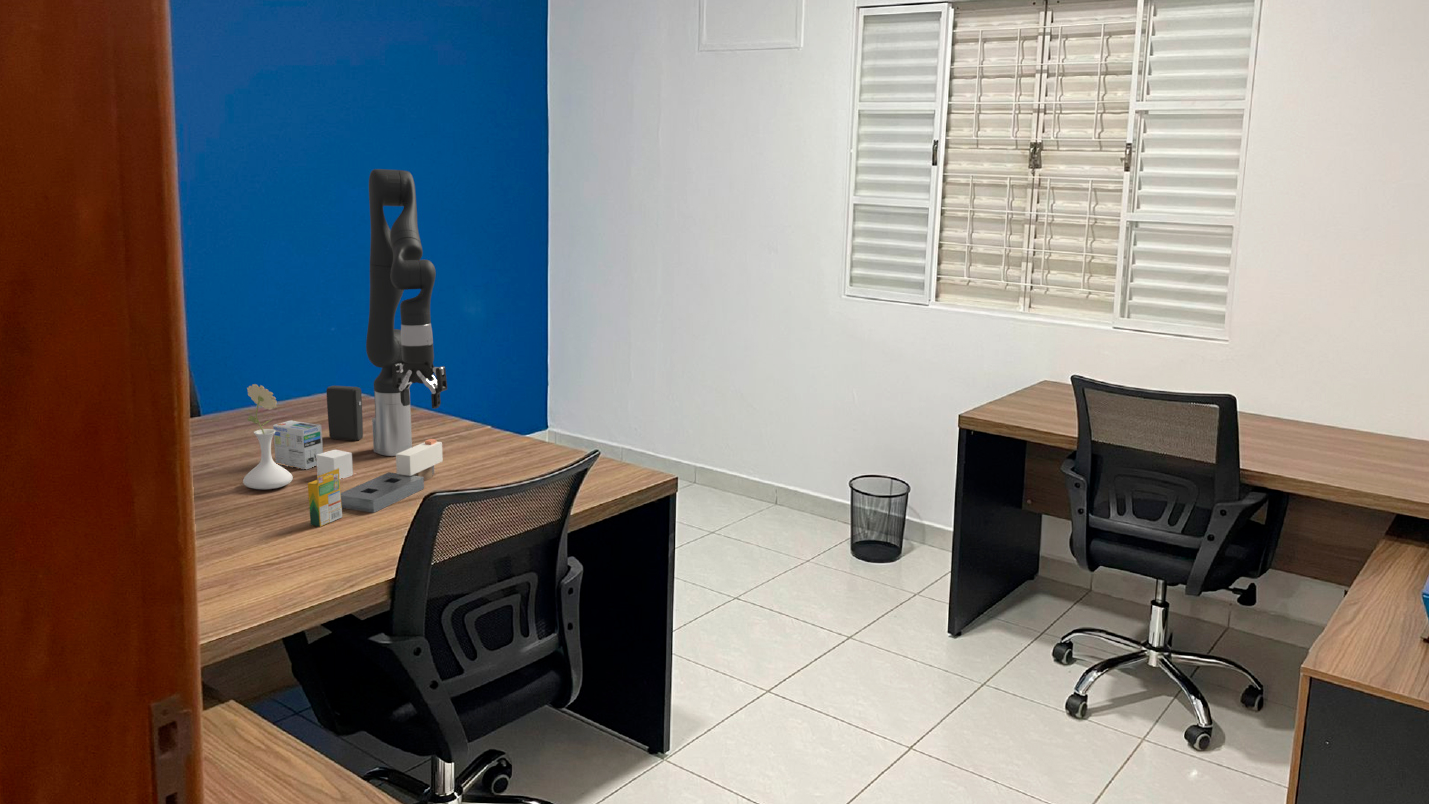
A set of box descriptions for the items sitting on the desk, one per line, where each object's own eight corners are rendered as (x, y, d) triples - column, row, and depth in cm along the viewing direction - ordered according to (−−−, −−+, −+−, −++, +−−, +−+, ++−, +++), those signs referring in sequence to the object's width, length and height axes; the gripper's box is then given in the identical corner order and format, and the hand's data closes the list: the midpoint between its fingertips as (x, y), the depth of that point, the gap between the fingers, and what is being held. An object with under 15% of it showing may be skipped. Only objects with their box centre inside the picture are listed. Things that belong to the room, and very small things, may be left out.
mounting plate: (373, 512, 262) (373, 500, 261) (337, 507, 265) (336, 494, 264) (424, 488, 280) (423, 476, 279) (389, 483, 283) (388, 472, 282)
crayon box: (332, 515, 259) (329, 466, 256) (342, 517, 258) (340, 468, 255) (309, 525, 252) (306, 474, 250) (320, 527, 251) (317, 476, 249)
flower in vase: (301, 487, 279) (295, 386, 274) (255, 496, 271) (248, 393, 266) (277, 475, 288) (271, 378, 282) (232, 484, 280) (224, 384, 275)
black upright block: (365, 438, 324) (362, 386, 321) (358, 441, 321) (356, 389, 317) (335, 436, 326) (332, 384, 323) (328, 439, 322) (325, 387, 319)
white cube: (334, 481, 284) (333, 458, 283) (317, 477, 287) (316, 454, 286) (353, 475, 290) (351, 452, 288) (335, 472, 292) (334, 449, 291)
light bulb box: (324, 464, 299) (322, 424, 296) (305, 470, 293) (303, 429, 290) (293, 458, 303) (291, 419, 301) (274, 464, 297) (271, 424, 295)
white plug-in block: (411, 486, 280) (409, 452, 278) (397, 484, 281) (395, 450, 279) (443, 471, 293) (441, 439, 291) (429, 470, 294) (428, 437, 292)
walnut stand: (418, 483, 284) (418, 471, 283) (408, 482, 285) (407, 469, 284) (432, 477, 289) (432, 465, 289) (422, 475, 290) (421, 463, 290)
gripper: (383, 342, 279) (387, 407, 282) (433, 346, 274) (437, 412, 278) (401, 338, 286) (405, 401, 289) (450, 341, 281) (454, 405, 284)
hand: (421, 406), depth 283 cm, fingers open, 8 cm apart
